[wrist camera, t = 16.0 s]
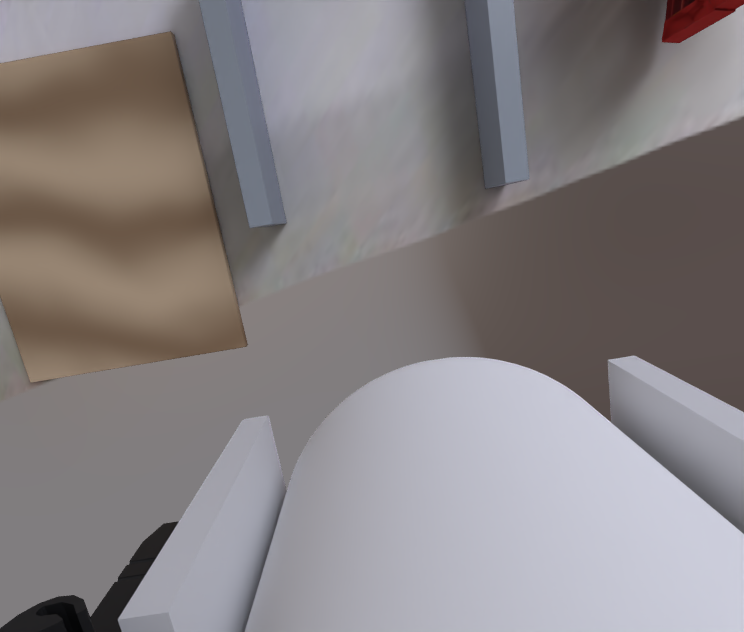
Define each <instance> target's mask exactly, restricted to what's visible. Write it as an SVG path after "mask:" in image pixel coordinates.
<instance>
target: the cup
mask: <svg viewBox="0 0 744 632" xmlns="http://www.w3.org/2000/svg"><path fill="white" fill-rule="evenodd" d="M245 632H744V534H743V533H742V532H741V531H740V530H738V529H737V528H736V527H735V526H734V525H732V524H731V523H730V522H729V521H728V520H726V519H725V518H724V517H723V516H722V515H721V514H719V513H718V512H717V511H716V510H715V509H713V508H712V507H711V506H710V505H709V504H707V503H706V502H705V501H704V500H703V499H701V498H700V497H699V496H698V495H697V494H695V493H694V492H693V491H692V490H691V489H690V488H688V487H687V486H686V485H685V484H684V483H682V482H681V481H680V480H679V479H678V478H676V477H675V476H674V475H673V474H672V473H670V472H669V471H668V470H667V469H666V468H665V467H663V466H662V465H661V464H660V463H659V462H657V461H656V460H655V459H654V458H653V457H651V456H650V455H649V454H648V453H647V452H645V451H644V450H643V449H642V448H641V447H639V446H638V445H637V444H636V443H635V442H634V441H632V440H631V439H630V438H629V437H628V436H626V435H625V434H624V433H623V432H622V431H620V430H619V429H618V428H617V427H616V426H614V425H613V424H612V423H611V422H610V421H608V420H607V419H606V418H605V417H604V416H602V415H601V414H600V413H599V412H598V411H597V410H595V409H594V408H593V407H592V406H591V405H589V404H588V403H587V402H586V401H585V400H584V399H582V398H581V397H579V396H578V395H577V394H576V393H574V392H573V391H572V390H570V389H569V388H567V387H565V386H564V385H562V384H561V383H559V382H557V381H555V380H554V379H552V378H550V377H548V376H546V375H544V374H541V373H539V372H537V371H534V370H532V369H529V368H526V367H523V366H520V365H517V364H513V363H509V362H505V361H501V360H495V359H488V358H476V357H451V358H444V359H437V360H429V361H423V362H419V363H415V364H412V365H408V366H405V367H402V368H399V369H397V370H394V371H391V372H389V373H387V374H385V375H383V376H381V377H379V378H377V379H375V380H372V381H371V382H369V383H368V384H366V385H364V386H363V387H361V388H360V389H358V390H357V391H355V392H354V393H352V394H351V395H350V396H349V397H347V398H346V399H345V400H344V401H342V402H341V403H340V404H339V405H338V406H337V407H336V408H335V409H334V410H333V411H332V412H331V413H330V414H329V415H328V416H327V417H326V418H325V419H324V420H323V421H322V423H321V424H320V425H319V427H318V428H317V429H316V430H315V432H314V433H313V434H312V436H311V437H310V439H309V441H308V442H307V444H306V446H305V448H304V449H303V451H302V453H301V454H300V456H299V459H298V461H297V463H296V465H295V468H294V470H293V473H292V476H291V479H290V482H289V485H288V489H287V492H286V495H285V499H284V502H283V505H282V509H281V512H280V515H279V519H278V522H277V525H276V529H275V532H274V535H273V539H272V542H271V545H270V549H269V552H268V555H267V559H266V562H265V565H264V569H263V572H262V575H261V579H260V582H259V585H258V589H257V592H256V595H255V599H254V602H253V605H252V609H251V612H250V616H249V619H248V622H247V626H246V629H245Z"/></svg>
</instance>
